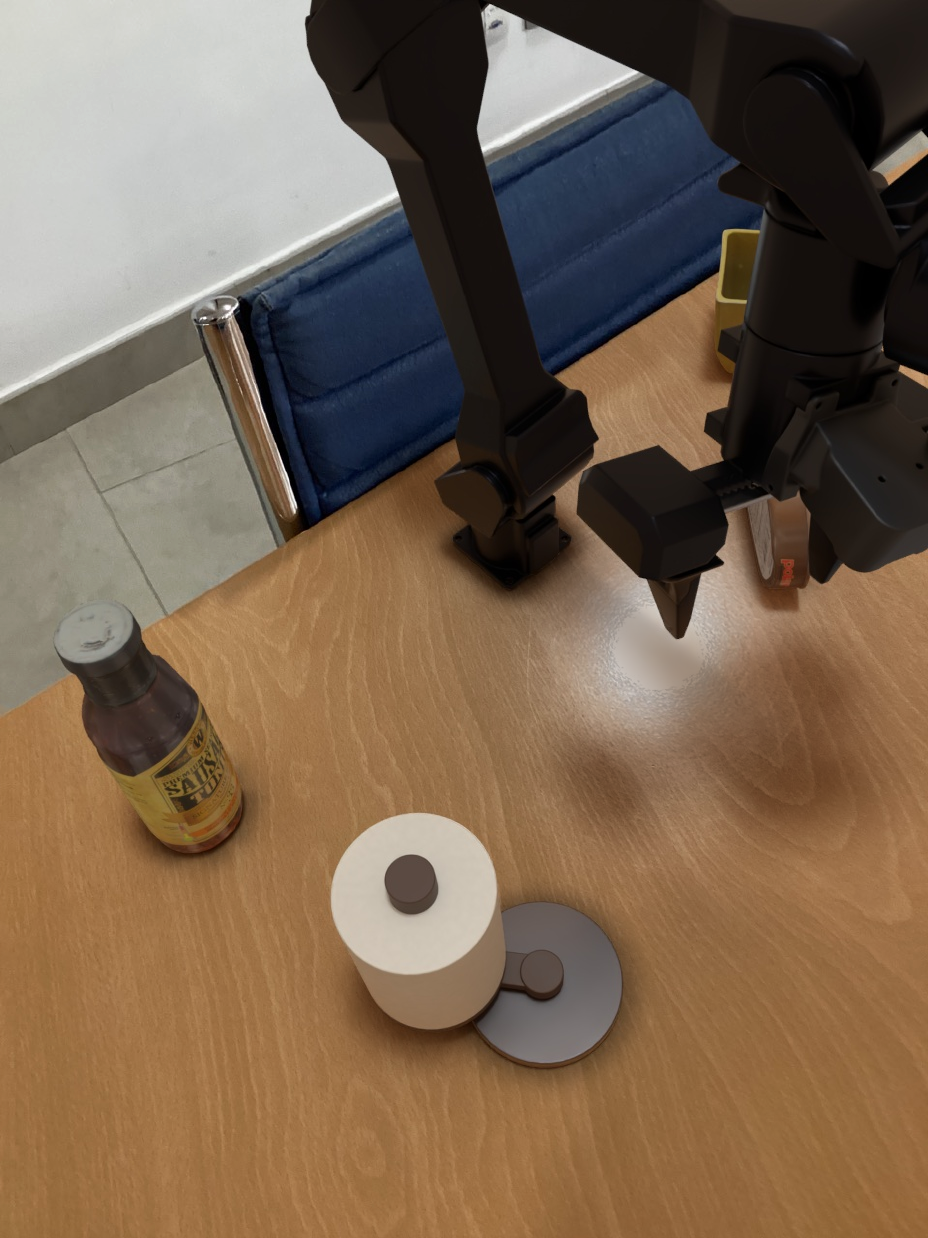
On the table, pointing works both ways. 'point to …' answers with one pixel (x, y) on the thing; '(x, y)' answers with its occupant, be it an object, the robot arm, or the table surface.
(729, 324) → the flower pot
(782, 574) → the tin
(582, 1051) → the swivel base
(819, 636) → the table surface
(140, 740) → the sauce bottle
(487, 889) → the paper towel roll
